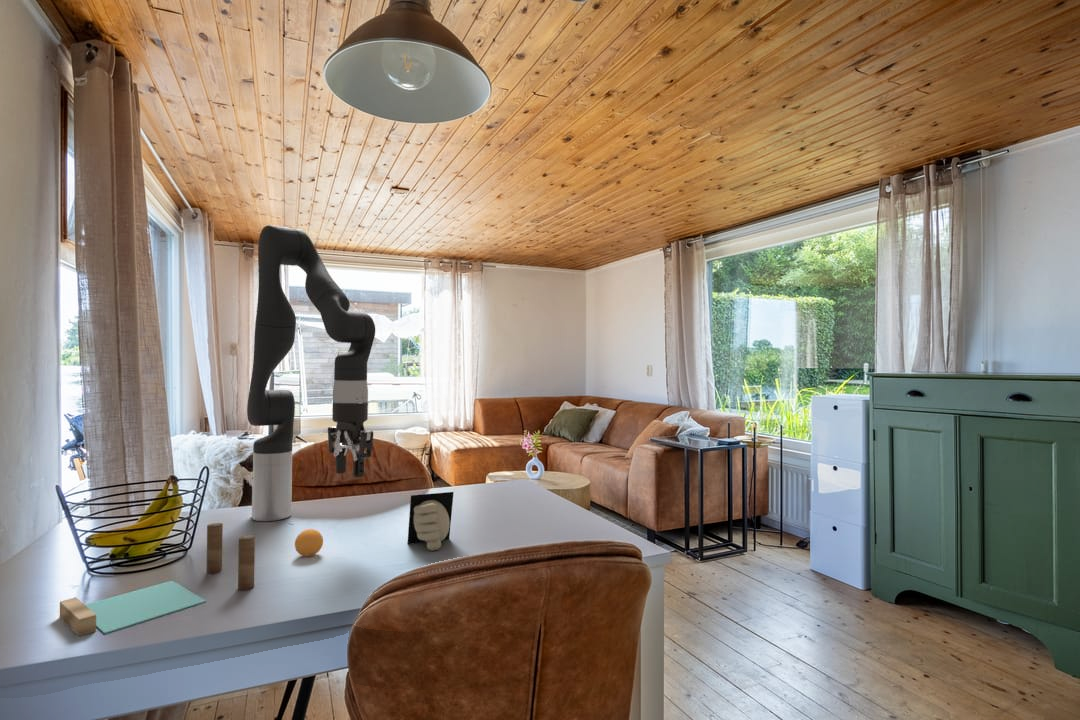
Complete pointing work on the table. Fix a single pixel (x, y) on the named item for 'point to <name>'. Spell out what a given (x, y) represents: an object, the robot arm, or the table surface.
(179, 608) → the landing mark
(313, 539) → the ball
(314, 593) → the table surface
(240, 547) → the post
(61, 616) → the rail
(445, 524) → the decorative object
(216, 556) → the post
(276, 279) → the robot arm
